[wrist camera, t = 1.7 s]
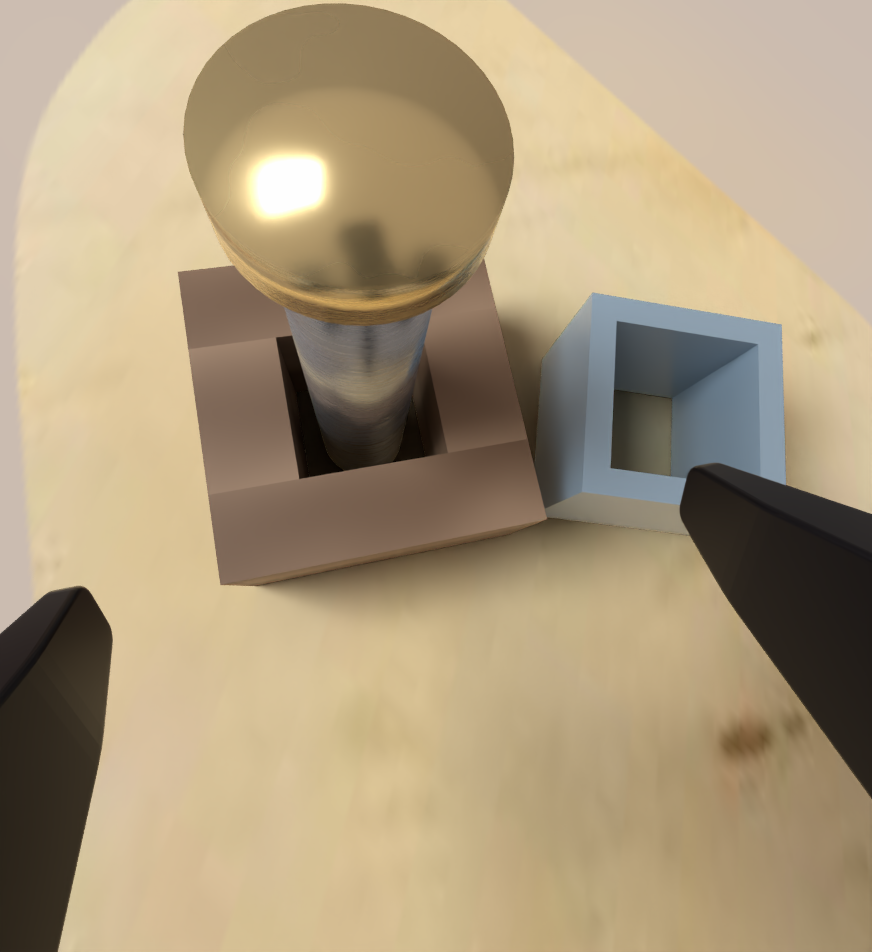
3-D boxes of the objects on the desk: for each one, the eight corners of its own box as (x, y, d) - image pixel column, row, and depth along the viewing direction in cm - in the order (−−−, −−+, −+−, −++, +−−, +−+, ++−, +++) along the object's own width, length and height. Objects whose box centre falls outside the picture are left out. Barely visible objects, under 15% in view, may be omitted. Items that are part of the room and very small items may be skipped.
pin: (436, 461, 20) (570, 214, 7) (336, 510, 20) (271, 338, 6) (387, 368, 21) (424, -30, 7) (288, 412, 20) (128, 55, 7)
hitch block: (507, 534, 20) (547, 519, 16) (254, 586, 19) (220, 584, 14) (456, 308, 22) (478, 237, 17) (218, 340, 20) (177, 271, 16)
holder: (689, 535, 21) (786, 519, 16) (530, 515, 20) (582, 492, 16) (691, 382, 22) (781, 324, 17) (541, 359, 22) (592, 292, 17)
